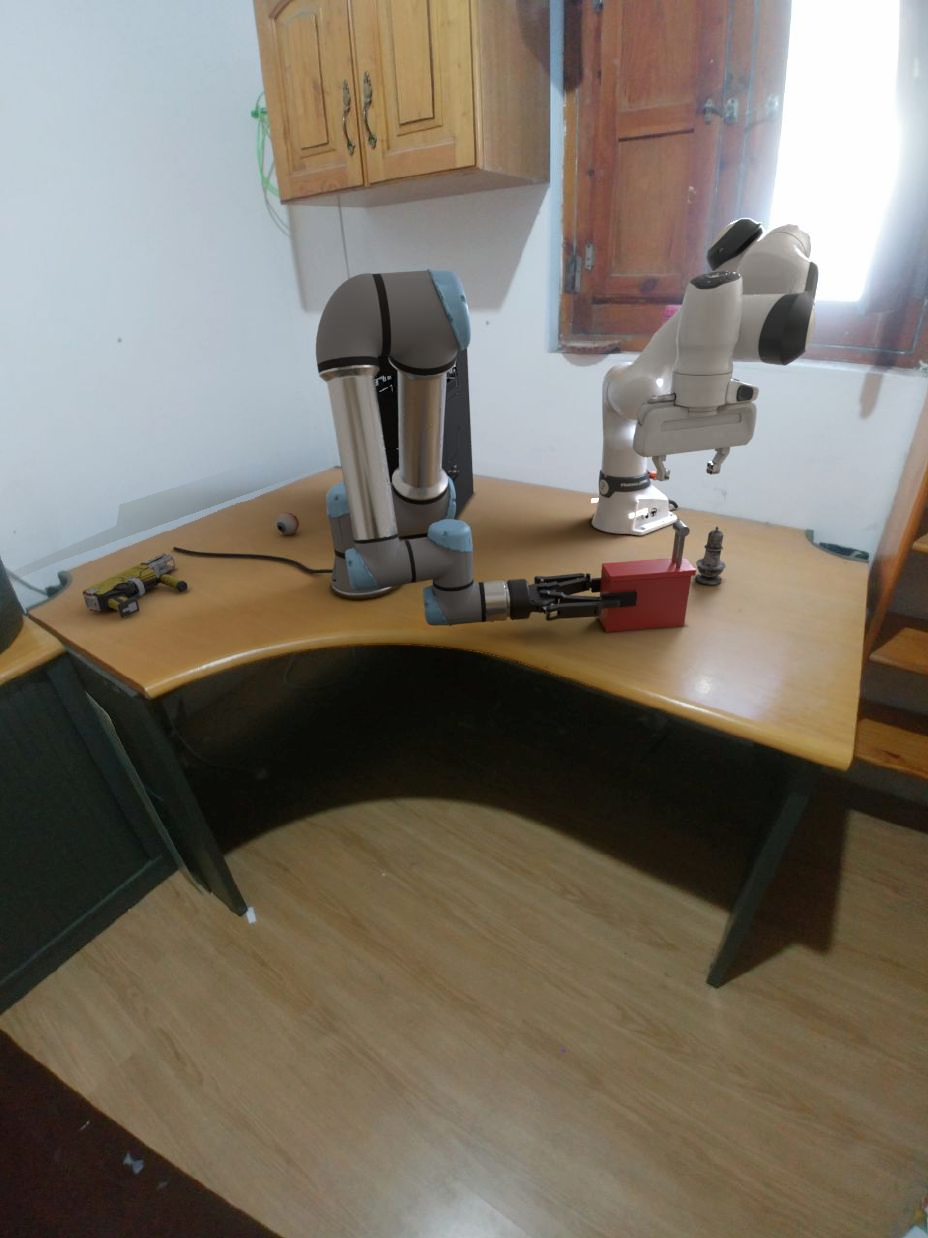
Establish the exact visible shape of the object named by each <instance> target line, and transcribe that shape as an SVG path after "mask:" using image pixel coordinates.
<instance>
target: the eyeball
mask: <svg viewBox="0 0 928 1238" xmlns="http://www.w3.org/2000/svg"><path fill="white" fill-rule="evenodd" d="M299 525H300V522H299V519H298V517H297V516H296V515H295V514H294V513H292V512H287V511H286V512H282V513H280V514H279V515H278V516H277V517H276V520H275V527H276V529H277V530H278V531H279V532H280V533H281V534H282V535H285V536H286V535H287V536H289V535H293V534H295V533H296V532H297V531H298V529H299Z"/></svg>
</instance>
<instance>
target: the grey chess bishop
mask: <svg viewBox="0 0 928 1238" xmlns="http://www.w3.org/2000/svg"><path fill="white" fill-rule="evenodd" d="M719 529H720V528H719V527H718V526H716V527H715V529H713V530H710V531H709V532H708V534H707V542H706V544H705V545H704V549H705V550H704V551H705V552H704V555H703V558H700V559H698V560H697V561H696V568H697V572H698V573H697V574H696V575H695V580H696V581H697V582H698V583H700V584H703V585H711V586H712V585H713V586H714V585H718V584H720V583H722V577H720V575H721V574H722V573H723V571H724V569H726V567H727V565H726V563H725V561H722V560H721V554H722V551H723V549H724V547H723V542H724V541H723V540H724V532H722V531H721V530H719Z"/></svg>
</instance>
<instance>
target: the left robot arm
mask: <svg viewBox="0 0 928 1238" xmlns="http://www.w3.org/2000/svg"><path fill="white" fill-rule="evenodd" d="M471 331H472V329H471V318H470V311H469V306H468V300H467V296H466V293H465V290H464V287H463V284H462V281H461V280H460V278H459V276H458V275H457V274H456V273H455V272H453V271H452V270H447V269H441V270H440V269H439V270H438V269H436V270H435V269H430V268H427V269H426V270H414V271H413V270H412V271H411V270H410V271H397V272H381V273H380V272H379V273H372V272H371V273H370V272H369V273H367V272H366V273H359V274H356V275H354V276H351V277H350V278H348V279H347V280H345V281H344V282H342V283H341V284H340V285H339V286H338V287H337V288H336V290H334V291H333V292H332V295H331V296H330V297H329V298H328V300H327V302H326V304H325V306H324V308H323V310H322V313H321V316H320V319H319V322H318V326H317V331H316V338H315V359H316V367H317V372H318V377H319V378H321V379H322V380H323V381H324V382H325V383H326V386H327V391H328V398H329V403H330V404H329V405H330V409H331V415H332V421H333V426H334V427H333V428H334V432H335V438H336V444H337V450H338V456H339V462H340V468H341V473H342V480H343V481H340V482H339V483H336V484H335V485H333V486H332V487H331V488H330V489H329V490H328V491H327V493H326V496H325V503H326V509H327V510H326V516H327V517H328V522H329V526H330V533H331V539H332V545H333V551H334V559H333V560H334V561H333V567H332V569H330V568H329V569H323V568H322V569H312V568H309V567H307V566H305V565H304V564H302V563H301V562H299V561H297V560H295V559H291V558H286V557H282V556H275V555H270V554H269V555H268V554H257V553H256V554H255V553H254V554H253V553H227V552H226V553H223V552H206V551H205V552H204V551H195V550H189V549H184V548H181V547H177V546H173V547H172V549H173V550H174V551H177V552H181V553H185V554H189V555H194V556H195V555H196V556H204V557H205V556H206V557H227V558H254V559H266V560H267V559H268V560H274V561H281V562H285V563H288V564H289V563H290V564H293V565H296V566H298V567H299V568H301V569H302V570H304V571H306V572H308V573H311V574H331V579H330V580H331V581H330V585H331V588H332V592H333V593H334V594H335V595H337V596H338V597H340V598H343V599H347V600H348V599H349V600H369V599H375V598H379V597H382V596H385V595H387V594H390V593H391V592H393V591H394V590H396V589H397V588H398V587H399V586H403V585H410V584H414V583H421V582H422V583H423V582H428V581H431V582H432V584H431V585H426V586H425V587H424V588H423V590H422V597H423V607H424V609H423V610H424V620H425V623H426V624H428V625H429V626H434V627H435V626H437V627H438V626H449V627H451V626H455V625H466V624H467V625H468V624H474V623H475V624H476V623H477V624H478V623H487V622H488V623H489V622H490V623H495V622H503V621H507V620H508V618H509V619H510V620H511V621H518V620H528V619H529V618H530V617H531V614H532V613H538V614H544V615H545V620H546V622H552V621H555V620H562V619H579V618H580V619H581V618H597V617H599V616H600V614H601V610H602V609H606V608H619V607H631V606H636V601H637V592H636V591H632V592H620V593H606V594H601V596H600V595H599V596H595V595H594V596H593V595H578V594H580V593H585V592H589V591H590V592H591V593H592V594H594V593H600V585H601V577H594V578H593V577H592V574H591V573H589V572H587V573H584V572H579V573H568V574H558V575H549V576H548V575H547V576H545V575H542V576H541V575H536V576H534V577H533V583H532V584H529V581H528V580H527V579H526V578H516V579H508V580H507V581H506V582H505V581H504V580H503V579H499V580H498V579H497V580H489V581H477V582H476V581H475V575H474V574H475V573H474V546H473V536H472V531H471V527H470V526H469V525H468V524H467V522H465V521H463V520H460V519H456V520H454V516H455V511H456V503H455V499H456V495H455V488H454V485H453V482H452V480H451V478H450V477H449V476H447V474H446V473H445V471H444V470H443V469H442V468H441V467H442V449H443V431H444V413H445V395H446V377H447V372H448V371H450V370H451V371H452V368H453V367H455V366H456V365H455V364H456V359H457V350H460V351H462V350H464V349H466V348H467V349H468V347H469V346H470V343H471V339H472V338H471V335H472V332H471ZM378 356H388V359H389V361H390V363H391V365H392V366H393V367H394V368H395V369H397V370H398V427H399V467H398V468H397V469H396V470H395V471H394V473H393V476H392V482H390V478H389V471H388V464H387V458H386V451H385V449H386V448H385V444H384V438H383V431H382V424H381V418H380V411H379V404H378V398H377V391H376V386H377V385H376V384H375V376H376V375H377V373H378V372H379V370H380V368H379V361H378ZM422 533H428V534H427V535H428V537H423V538H410V539H404V540H400V538H399V537H401V536H408V535H415V534H422ZM576 594H577V595H576Z"/></svg>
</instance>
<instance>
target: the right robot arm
mask: <svg viewBox="0 0 928 1238" xmlns="http://www.w3.org/2000/svg"><path fill="white" fill-rule="evenodd" d="M762 225H763V222H761V221H758V222H757V221H755V220H753V219H752V218H750V217H740V218H738V219H737V220H735V221H732V222H730V223H729V224H727V225H726V226H725V227H723V228H722V229H721V230H720V231H719V232H718V233H717V235H716V236H715V237H714V238H713V240H712V242H711V245H710V247H709V249H708V250H707V254H706V261H707V263H708V266H709V268H710V270H711V271H712V272H709V273H702V274H699V275H697V276H695V277H693V278H691V280H689V281H688V282H687V285H686V288H685V290H684V291H685V292H684V295H683V299H682V304H681V306H680V308H678V309H677V310H676V312H675V313H674V314H673V315H671V317H669V319H667V320H666V321H665V322H664V323H663V324H662V326H661V327H660V328H659V329H658V330H656V331H655V333H653V335H652V336H651V339H650V341H649V342H648V343H647V345H646V346H645V348H644V349H643V350H642V352H641V353H640V354H639V355H638V356H637V358H635V360H634V361H633V362H629V361H626V362H621V363H617V364H616V365H613V366H612V367H611V368H610V369H608V370H607V372H606V373H605V375H604V377H603V380H602V386H601V387H602V388H601V390H602V391H601V392H602V393H601V397H602V398H601V413H602V414H601V416H602V417H601V418H602V419H601V420H602V453H601V468H600V470H599V474H598V492H599V493H598V497H596V498H591V499H590V501H591V502H590V503H591V504H594V503H596V507H595V511H594V514H593V517H592V520H591V525H592V526H593V527H594V528H595V529H597V530H599V531H601V532H605V533H611V534H623V535H625V534H626V535H632V536H633V535H634V536H645V535H646V534H650V533H652V532H654V531H657V530H660V529H662V528H665V527H668V526H670V525H673V523H674V522H675V521H678V516H677V515H676V514H675V513H674V512H672V511H670V505H672V506H673V507H674V508H675V509H678V508H679V505H678V504H677V502H676V501H675V500H672V499H670V498H668V497H667V496H666V495H665V494H664V493H663V492H661V491H660V490H659V489H658V488H656V487H655V486H654V485H652V483H651V480H653V481H658V482H666V481H669V480H670V475H671V470H670V469H669V468H668V469H667V467H666V466H665V465H664V462H666V461H667V456H669V455H678V454H684V453H685V454H686V453H693V452H701V451H710V450H714V451H715V452H716V453H715V455H714V456H713V458H712V460H711V461H708V462H707V463H706V469H705V470H706V474H709V475H710V476H711V475H718V474H720V473H721V468H722V464H723V463H724V462H725V460H726V459H727V457H728V456H729V455H730V453H731V452H730V451H731V448H733V447H741V446H747V445H748V444H749V443H750V442H751V441H752V440H753V437H754V434H755V429H756V423H757V414H758V413H757V411H758V408H757V405H756V402H754V401H756V400H757V399H758V396H759V392H760V389H759V387H758V386H757V385H754V384H750V383H747V382H743V381H740V380H739V379H737V378H733V373H734V362H736V363H763V364H769V365H775V366H776V365H777V366H783V367H784V366H788V365H789V364H791V363H792V362H794V361H796V360H797V359H799V358H800V357H801V356H802V355H804V354H805V353H806V352H807V349H808V347H810V344H811V342H812V340H813V337H814V335H815V334H814V333H815V329H816V323H817V313H816V308H815V307H816V302H817V295H818V290H819V277H820V270H819V266H818V264H817V263H815V262H814V261H812V260H811V259H812V256H813V251H814V238H813V235H812V232H811V231H810V229H809V228H808V226H806V225H805V224H803V223H801V222H798V221H785V222H782V223H779V224H777V225H775V226H773V227H771V228H769V229H768V230H767V231H766V230H765V229H764V227H763V226H762ZM648 458H651V460H652V461H651V462H652V463H653V465H654V467H655V469H656V471H654V470H651V471H649V470H648V469H647V466H648Z"/></svg>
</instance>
